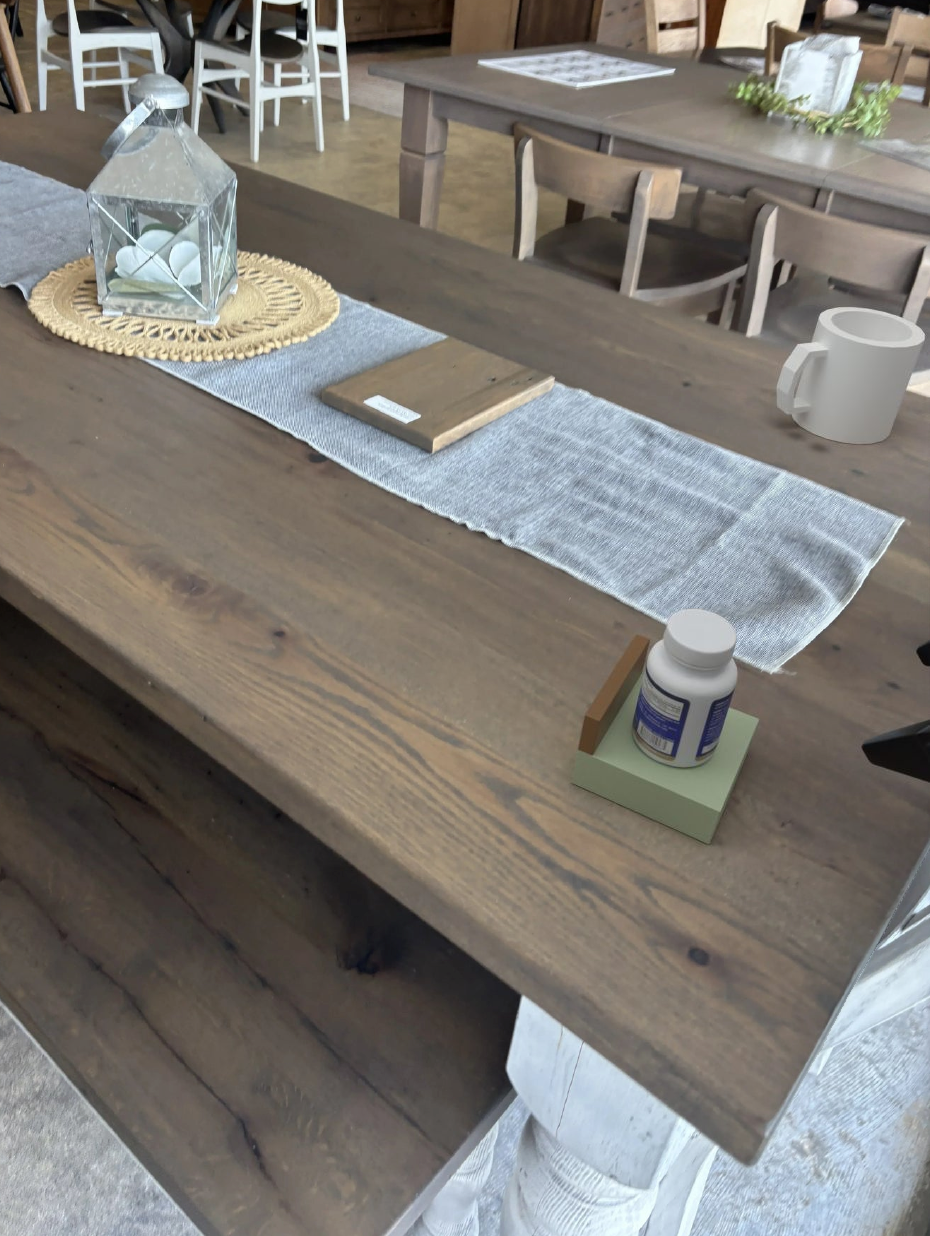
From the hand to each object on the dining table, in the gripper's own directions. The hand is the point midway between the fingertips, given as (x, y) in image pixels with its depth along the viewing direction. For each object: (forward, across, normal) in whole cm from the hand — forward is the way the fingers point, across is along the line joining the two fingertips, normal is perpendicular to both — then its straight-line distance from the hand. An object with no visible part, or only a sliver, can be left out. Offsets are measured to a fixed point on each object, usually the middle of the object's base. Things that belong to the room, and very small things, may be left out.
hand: (894, 701), depth 51 cm
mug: (+24, -58, -4) cm, 63 cm away
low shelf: (+17, -1, +2) cm, 17 cm away
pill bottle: (+15, -1, 0) cm, 15 cm away
